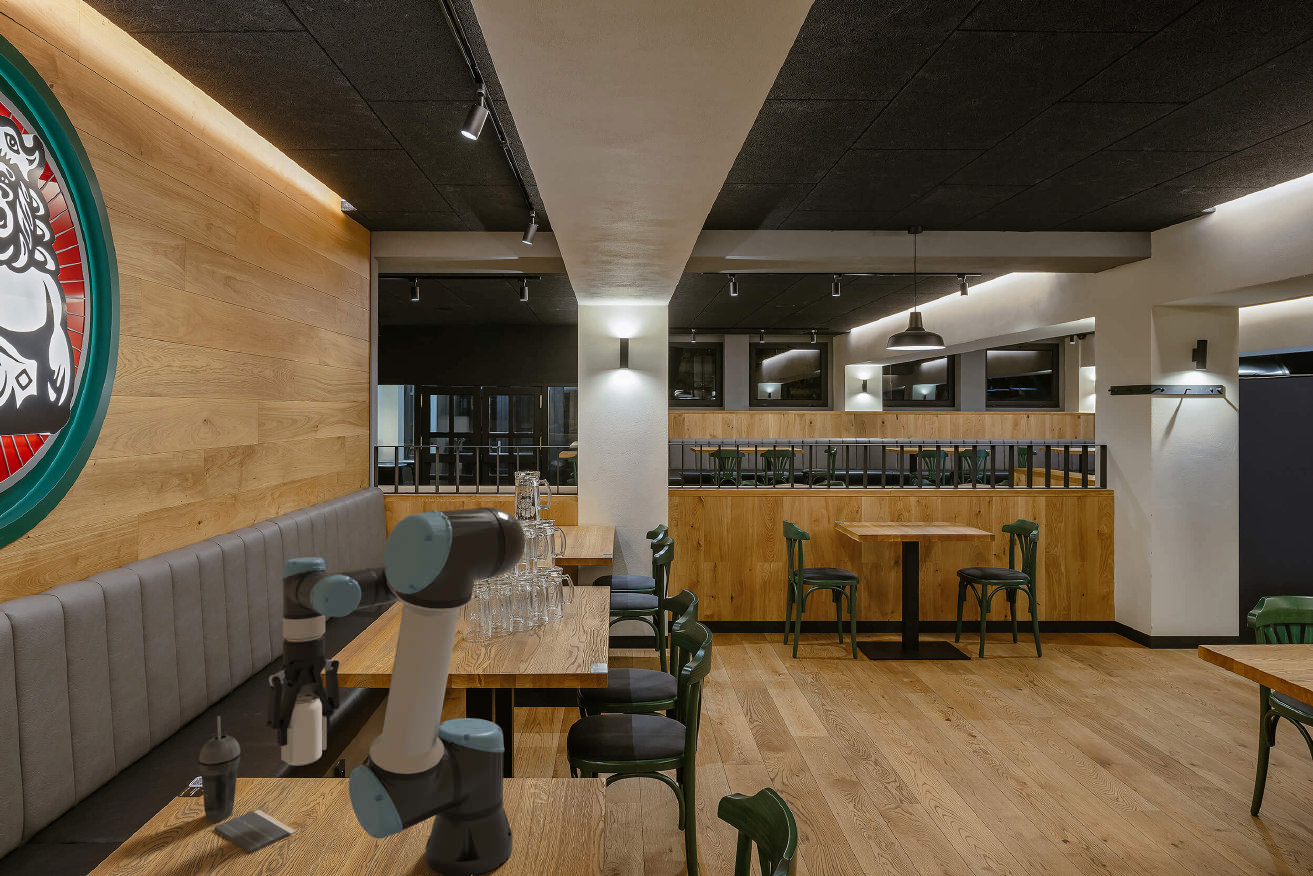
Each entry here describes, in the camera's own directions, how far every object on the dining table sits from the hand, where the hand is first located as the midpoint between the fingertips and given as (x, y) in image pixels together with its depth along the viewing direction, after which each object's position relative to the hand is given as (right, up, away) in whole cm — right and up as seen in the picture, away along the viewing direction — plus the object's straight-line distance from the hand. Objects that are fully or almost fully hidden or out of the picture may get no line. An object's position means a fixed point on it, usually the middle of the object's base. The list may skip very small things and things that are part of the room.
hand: (304, 754), depth 141 cm
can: (0, -1, 0) cm, 1 cm away
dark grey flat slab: (-6, -12, -5) cm, 15 cm away
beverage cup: (-17, -12, 0) cm, 21 cm away
